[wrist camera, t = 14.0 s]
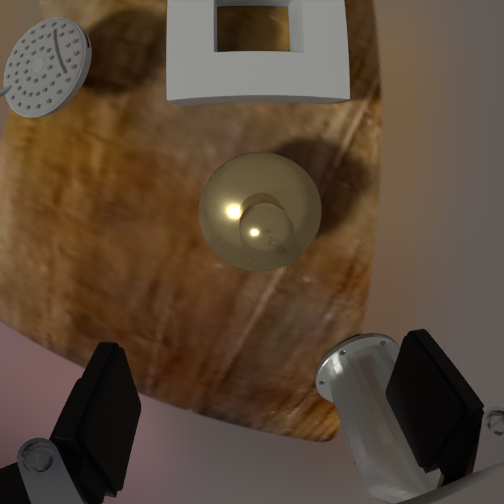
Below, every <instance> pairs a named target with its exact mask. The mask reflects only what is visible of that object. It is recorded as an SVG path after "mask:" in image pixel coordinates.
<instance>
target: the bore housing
mask: <svg viewBox="0 0 504 504" xmlns="http://www.w3.org/2000/svg"><path fill="white" fill-rule="evenodd" d="M220 6H280V7H288V14H289V36H290V52H276V51H235V52H217V7H220ZM166 74H167V101H169V102H172V103H174V104H176V105H178V106H189V105H202V104H219V103H246V102H285V103H313V104H332V103H336V102H340V101H345V100H349V99H350V77H349V55H348V39H347V25H346V14H345V3H344V0H168V8H167V48H166Z"/></svg>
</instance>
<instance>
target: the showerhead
mask: <svg viewBox="0 0 504 504" xmlns="http://www.w3.org/2000/svg"><path fill="white" fill-rule="evenodd" d="M91 55H92V50H91V43H90V39H89V37H88V34H87V33H86V31H85V30H84V29H83V28H82V27H81V26H80V25H78V24H77V23H76V22H74V21H72V20H70V19H68V18H63V17H55V18H50V19H47V20H44V21H42V22H40V23H38V24H37V25H35V26H34V27H32V28H31V29H30V30H29V31H27V32H26V33H25V35H23V37H22V38H21V39H20V40H19V41H18V43H17V44H16V46H15V47H14V49H13V51H12V53H11V54H10V57H9V59H8V62H7V65H6V69H5V73H4V89H2V90H1V91H0V97H1V96H3V95H5V96H6V99H7V102H8V104H9V105H10V107H11V108H12V109H13V110H14V111H15V112H16V113H18V114H19V115H21V116H24V117H43V116H48V115H50V114H53V113H55V112H57V111H59V110H60V109H62V108H63V107H64V106H66V105H67V104H68V103H69V102H70V101H71V100H72V99H73V98H74V96H75V95H76V94H77V93H78V91H79V90H80V88H81V86H82V85H83V83H84V81H85V79H86V76H87V74H88V71H89V67H90V63H91Z"/></svg>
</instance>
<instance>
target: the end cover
mask: <svg viewBox="0 0 504 504" xmlns="http://www.w3.org/2000/svg"><path fill="white" fill-rule="evenodd" d="M321 214H322V211H321V200H320V196H319V193H318V190H317V188H316V185H315V183H314V182H313V180H312V179H311V177H310V176H309V175H308V173H307V172H306V171H305V170H304V169H303V168H302V167H300V166H299V165H298V164H296V163H295V162H293V161H292V160H290V159H288V158H286V157H284V156H281V155H278V154H274V153H269V152H251V153H247V154H242V155H240V156H237V157H235V158H233V159H231V160H229V161H227V162H226V163H224V164H223V165H222V166H221V167H219V168H218V169H217V170H216V171H215V172H214V174H213V175H212V176H211V177H210V179H209V181H208V182H207V184H206V186H205V188H204V191H203V193H202V196H201V199H200V205H199V222H200V227H201V231H202V234H203V236H204V238H205V240H206V242H207V243H208V245H209V247H210V248H211V249H212V250H213V252H214V253H215V254H216V255H218V256H219V257H220V258H221V259H222V260H224V261H225V262H227V263H229V264H230V265H232V266H235V267H237V268H240V269H244V270H248V271H270V270H274V269H278V268H281V267H284V266H286V265H288V264H290V263H291V262H293V261H295V260H296V259H297V258H299V257H300V256H301V255H302V254H303V253H304V252H305V251H306V250H307V249H308V248H309V246H310V245H311V244H312V242H313V240H314V239H315V237H316V235H317V232H318V229H319V226H320V222H321Z"/></svg>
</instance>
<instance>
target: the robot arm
mask: <svg viewBox="0 0 504 504" xmlns="http://www.w3.org/2000/svg"><path fill="white" fill-rule="evenodd" d="M315 384H316V387H317V390H318V392H319V393H320V395H321V396H322V397H323V398H325V399H326V400H328V401H331V402H334V404H335V407H336V410H337V413H338V416H339V419H340V422H341V425H342V428H343V431H344V434H345V437H346V440H347V444H348V446H349V450H350V453H351V456H352V459H353V462H354V465H355V468H356V472H357V475H358V478H359V481H360V484H361V486H362V488H363V489H364V491H365V492H366V493H367V494H368V495H370V496H371V497H373V498H374V499H376V500H378V501H381V502H384V503H386V504H504V408H502V407H491V408H489V409H487V410H486V411H485V413H484V411H483V410H482V409H483V407H484V405H483V403H482V402H481V401H480V399H479V398H478V396H477V395H476V394H475V392H474V391H473V390H472V388H471V387H470V386H469V384H468V383H467V381H466V380H465V379H464V377H463V376H462V375H461V373H460V372H459V371H458V369H457V368H456V367H455V366H454V364H453V363H452V362H451V360H450V359H449V358H448V357H447V355H446V354H445V353H444V351H443V350H442V349H441V348H440V346H439V345H438V344H437V343H436V342H435V340H434V339H433V338H432V337H431V335H430V334H429V333H428V332H427V331H426V330H425V329H420V330H413V331H410V332H409V333H408V334H407V336H405V337H404V339H403V342H402V344H401V348H399V346H398V345H397V343H396V342H395V341H394V340H393V339H392V338H391V337H389V336H387V335H384V334H379V333H369V334H362V335H359V336H355V337H352V338H350V339H348V340H346V341H344V342H342V343H341V344H339V345H337V346H336V347H335V348H333V349H332V350H331V351H330V352H329V353H328V354H327V355H326V356H325V357H324V358H323V359H322V361H321V362H320V364H319V366H318V368H317V370H316V375H315ZM140 413H141V402H140V399H139V396H138V393H137V390H136V387H135V384H134V381H133V378H132V375H131V371H130V368H129V365H128V362H127V358H126V355H125V351H124V349H123V348H122V347H119V345H118V344H117V343H112V342H100V343H99V344H98V346H97V348H96V350H95V351H94V353H93V355H92V357H91V359H90V361H89V363H88V365H87V367H86V369H85V371H84V373H83V375H82V377H81V378H80V379H78V380H77V381H76V383H75V385H74V387H73V389H72V391H71V393H70V396H69V397H68V399H67V401H66V403H65V406H64V408H63V410H62V412H61V415H60V416H59V418H58V421H57V423H56V425H55V427H54V430H53V432H52V434H51V436H50V439H49V440H48V439H45V438H34V439H30V440H28V441H27V442H25V443H24V444H23V445H22V446H21V447H20V449H19V451H18V455H17V462H16V463H14V464H11V465H9V466H6V467H4V468H1V469H0V504H102V503H103V500H104V496H110V497H116V495H117V491H121V490H122V488H123V485H124V480H125V475H126V471H127V466H128V462H129V458H130V453H131V449H132V445H133V441H134V436H135V433H136V429H137V424H138V420H139V417H140Z"/></svg>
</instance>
